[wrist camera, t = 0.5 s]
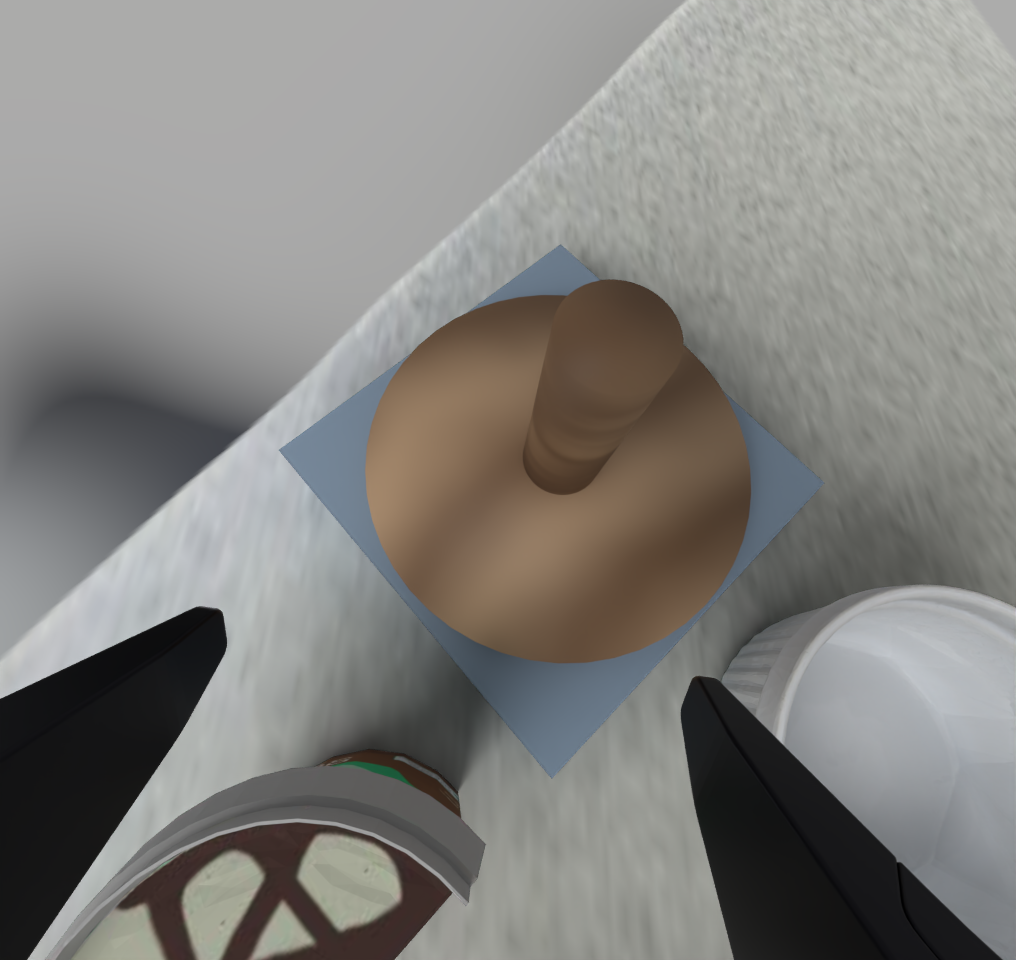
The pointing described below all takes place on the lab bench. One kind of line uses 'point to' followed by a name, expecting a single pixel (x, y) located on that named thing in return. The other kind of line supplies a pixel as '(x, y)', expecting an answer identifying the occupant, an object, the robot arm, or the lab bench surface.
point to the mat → (505, 678)
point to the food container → (290, 869)
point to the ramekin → (907, 731)
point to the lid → (559, 475)
